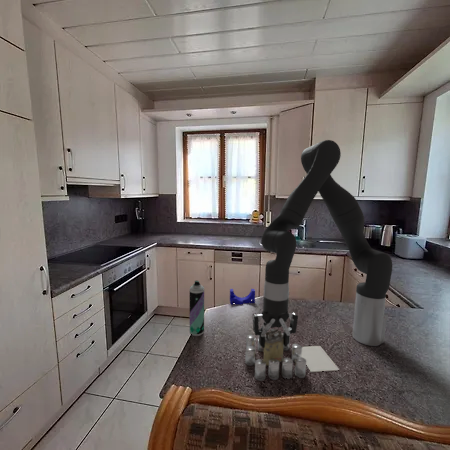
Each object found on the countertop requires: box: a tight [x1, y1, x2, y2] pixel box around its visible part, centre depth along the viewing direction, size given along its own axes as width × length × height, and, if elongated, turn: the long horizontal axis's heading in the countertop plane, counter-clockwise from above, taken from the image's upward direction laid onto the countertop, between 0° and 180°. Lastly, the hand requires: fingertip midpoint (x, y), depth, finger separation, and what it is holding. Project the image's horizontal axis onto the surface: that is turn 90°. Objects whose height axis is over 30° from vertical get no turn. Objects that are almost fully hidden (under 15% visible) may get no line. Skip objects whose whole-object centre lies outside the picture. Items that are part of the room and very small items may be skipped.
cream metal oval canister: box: [263, 328, 284, 367], centre depth 79 cm, size 7×4×10 cm, turn 122°
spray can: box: [189, 280, 205, 337], centre depth 95 cm, size 6×6×20 cm
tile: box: [301, 345, 340, 373], centre depth 81 cm, size 9×12×1 cm
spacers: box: [244, 332, 307, 382], centre depth 79 cm, size 18×16×4 cm
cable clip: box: [229, 288, 256, 306], centre depth 123 cm, size 12×4×6 cm, turn 93°
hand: (273, 345), depth 79 cm, fingers closed on cream metal oval canister, 6 cm apart
